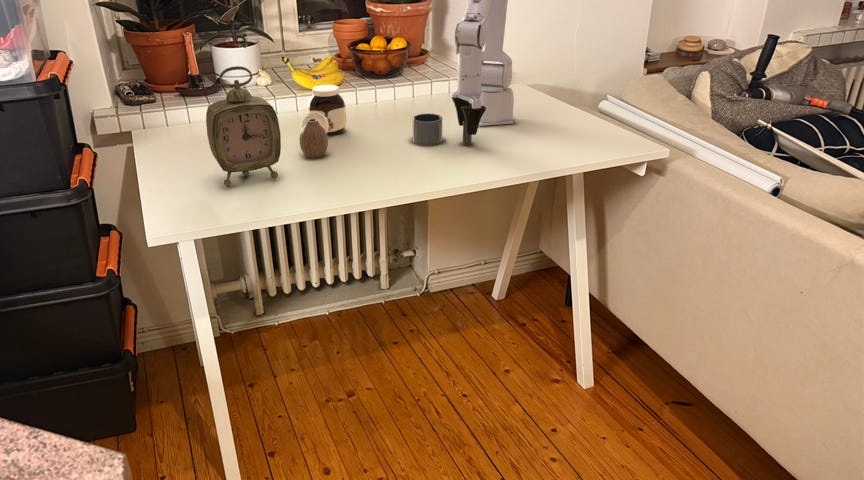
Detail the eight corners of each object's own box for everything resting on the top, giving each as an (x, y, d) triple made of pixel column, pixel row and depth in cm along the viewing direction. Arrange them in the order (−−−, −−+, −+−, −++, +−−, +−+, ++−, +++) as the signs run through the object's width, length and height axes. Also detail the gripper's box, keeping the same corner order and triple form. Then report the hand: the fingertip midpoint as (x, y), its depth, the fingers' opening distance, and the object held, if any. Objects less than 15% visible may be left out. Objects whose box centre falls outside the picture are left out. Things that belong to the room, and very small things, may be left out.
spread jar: (345, 125, 191) (342, 83, 185) (350, 138, 181) (348, 93, 175) (301, 129, 189) (297, 86, 183) (304, 142, 179) (300, 97, 174)
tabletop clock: (220, 191, 152) (203, 75, 140) (212, 177, 159) (195, 66, 147) (285, 179, 157) (273, 66, 145) (274, 167, 164) (262, 58, 152)
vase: (333, 151, 172) (331, 117, 168) (322, 161, 167) (319, 125, 162) (307, 149, 174) (305, 114, 170) (296, 158, 169) (292, 123, 165)
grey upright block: (470, 142, 176) (470, 119, 173) (472, 145, 174) (473, 121, 171) (461, 143, 176) (462, 119, 173) (463, 146, 174) (464, 122, 171)
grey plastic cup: (438, 135, 182) (438, 112, 179) (445, 144, 175) (445, 121, 172) (410, 137, 181) (410, 114, 178) (416, 146, 174) (416, 123, 171)
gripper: (445, 68, 172) (444, 122, 179) (460, 82, 160) (459, 140, 166) (473, 66, 173) (471, 120, 180) (490, 80, 160) (488, 137, 167)
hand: (467, 129), depth 173 cm, fingers open, 7 cm apart
